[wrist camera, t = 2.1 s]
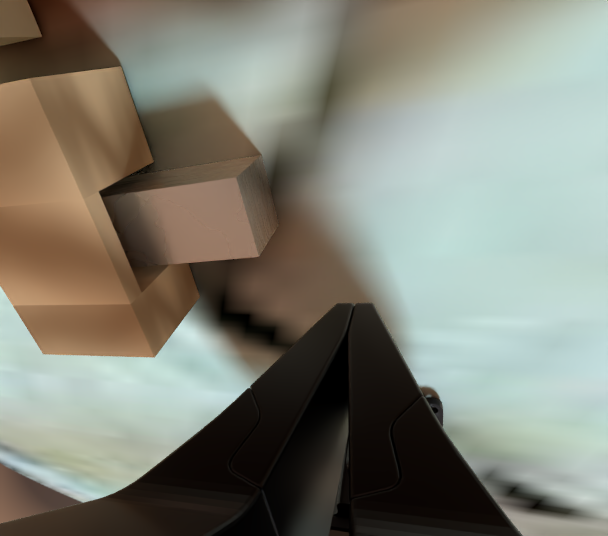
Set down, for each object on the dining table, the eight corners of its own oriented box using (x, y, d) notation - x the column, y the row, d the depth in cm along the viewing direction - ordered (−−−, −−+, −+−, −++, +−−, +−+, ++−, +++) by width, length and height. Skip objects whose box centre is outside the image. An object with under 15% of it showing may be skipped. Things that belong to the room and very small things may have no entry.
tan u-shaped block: (199, 296, 21) (154, 357, 17) (104, 298, 22) (43, 354, 19) (120, 66, 16) (29, 78, 12) (3, 88, 17) (-113, 105, 13)
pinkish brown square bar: (262, 153, 17) (235, 177, 14) (279, 223, 18) (258, 256, 15) (-44, 203, 22) (-108, 228, 19) (-11, 254, 23) (-65, 284, 20)
